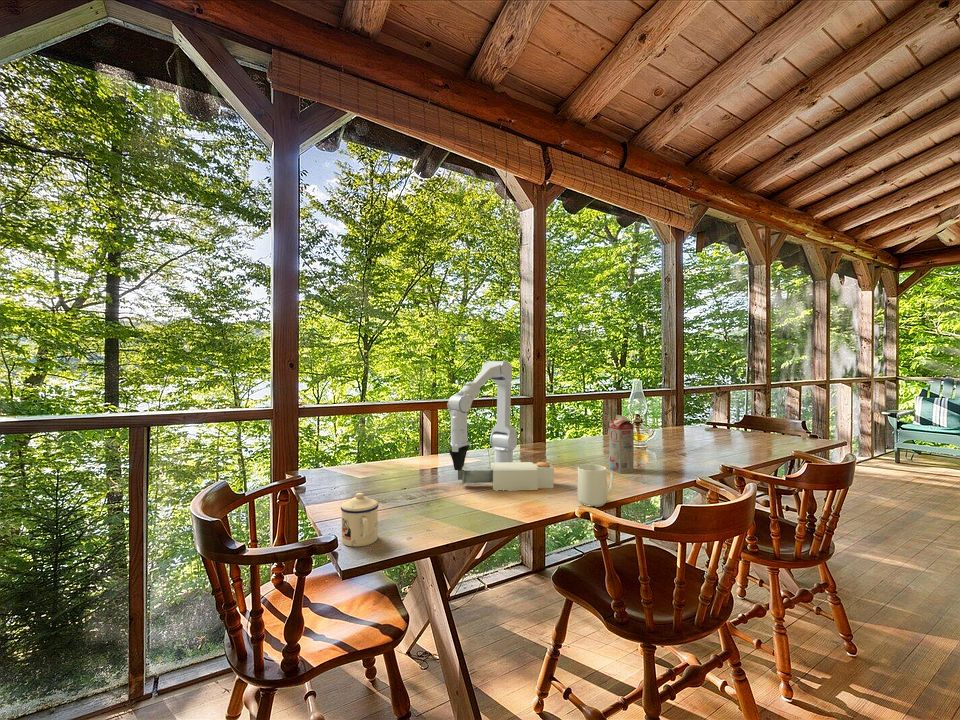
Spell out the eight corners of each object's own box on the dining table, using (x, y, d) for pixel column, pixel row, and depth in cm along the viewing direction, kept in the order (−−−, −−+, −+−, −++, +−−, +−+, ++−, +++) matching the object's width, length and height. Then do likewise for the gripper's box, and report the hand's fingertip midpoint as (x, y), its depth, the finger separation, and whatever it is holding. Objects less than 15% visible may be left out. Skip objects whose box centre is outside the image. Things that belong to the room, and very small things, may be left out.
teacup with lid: (337, 537, 120) (337, 491, 120) (373, 531, 124) (373, 486, 124) (346, 555, 110) (346, 504, 109) (385, 548, 113) (385, 499, 113)
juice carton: (619, 473, 185) (619, 416, 185) (609, 469, 191) (609, 414, 191) (633, 471, 187) (633, 416, 187) (623, 468, 194) (623, 414, 193)
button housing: (490, 481, 173) (490, 462, 173) (548, 481, 174) (548, 461, 174) (493, 491, 161) (493, 470, 161) (555, 490, 162) (555, 469, 162)
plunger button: (535, 472, 170) (535, 462, 170) (548, 471, 170) (548, 461, 170) (537, 475, 165) (537, 465, 165) (551, 475, 165) (551, 464, 165)
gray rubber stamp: (457, 481, 168) (457, 459, 168) (492, 481, 169) (492, 459, 169) (457, 485, 164) (457, 462, 164) (493, 485, 164) (493, 462, 164)
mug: (587, 509, 142) (587, 472, 142) (572, 500, 151) (572, 465, 150) (621, 505, 146) (621, 468, 146) (604, 496, 154) (604, 462, 154)
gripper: (466, 433, 158) (466, 474, 158) (473, 426, 172) (473, 464, 173) (446, 432, 159) (446, 473, 159) (454, 426, 174) (454, 463, 174)
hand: (459, 468), depth 166 cm, fingers closed on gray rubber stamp, 4 cm apart
